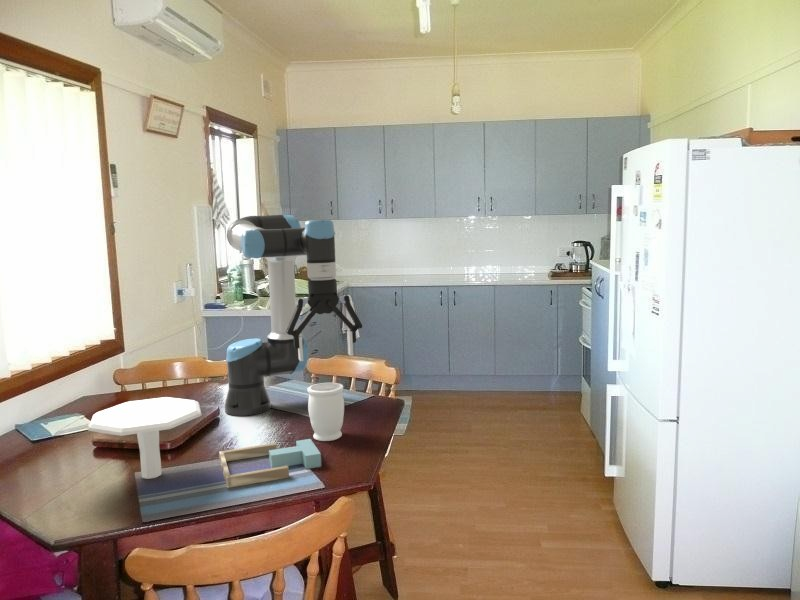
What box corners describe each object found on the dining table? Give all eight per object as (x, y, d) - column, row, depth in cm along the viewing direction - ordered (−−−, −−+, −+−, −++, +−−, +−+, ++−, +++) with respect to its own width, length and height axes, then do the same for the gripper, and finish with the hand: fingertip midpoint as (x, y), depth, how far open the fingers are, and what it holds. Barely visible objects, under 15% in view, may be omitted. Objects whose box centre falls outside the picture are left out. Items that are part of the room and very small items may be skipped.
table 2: (123, 455, 176) (117, 396, 174) (223, 453, 175) (218, 394, 173) (67, 500, 149) (60, 431, 147) (186, 498, 148) (180, 429, 146)
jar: (339, 443, 180) (337, 392, 178) (304, 442, 182) (302, 391, 180) (349, 431, 190) (347, 382, 188) (316, 429, 192) (314, 381, 190)
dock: (219, 460, 170) (219, 451, 170) (276, 451, 175) (275, 442, 175) (226, 488, 153) (226, 478, 152) (289, 477, 158) (288, 467, 158)
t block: (267, 457, 171) (266, 445, 171) (311, 450, 175) (310, 438, 175) (274, 474, 160) (273, 461, 160) (321, 466, 164) (320, 453, 164)
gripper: (276, 282, 160) (281, 365, 163) (371, 276, 169) (374, 355, 171) (272, 280, 167) (277, 359, 170) (363, 274, 176) (366, 350, 178)
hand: (326, 357), depth 171 cm, fingers open, 13 cm apart
